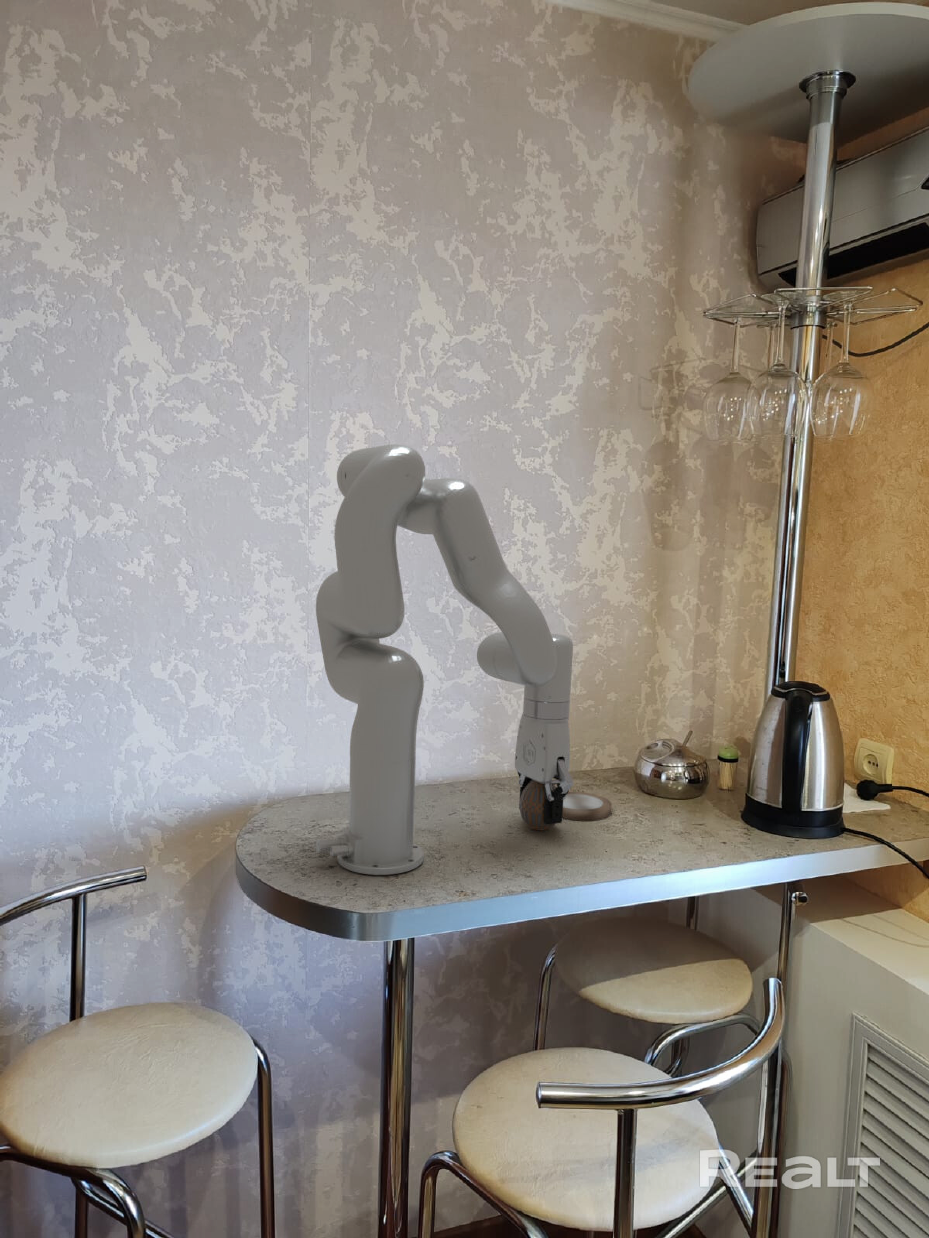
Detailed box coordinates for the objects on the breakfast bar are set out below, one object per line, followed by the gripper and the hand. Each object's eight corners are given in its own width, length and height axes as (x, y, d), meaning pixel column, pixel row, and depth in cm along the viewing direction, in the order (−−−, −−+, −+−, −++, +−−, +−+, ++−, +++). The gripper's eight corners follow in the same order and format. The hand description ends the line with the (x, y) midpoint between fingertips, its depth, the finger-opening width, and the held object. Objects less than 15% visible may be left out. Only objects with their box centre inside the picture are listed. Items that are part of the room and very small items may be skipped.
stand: (567, 824, 149) (568, 815, 149) (530, 804, 160) (530, 795, 160) (625, 815, 155) (625, 807, 155) (585, 796, 165) (585, 788, 165)
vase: (567, 825, 148) (570, 773, 147) (548, 836, 142) (551, 782, 141) (530, 817, 151) (533, 766, 151) (510, 826, 145) (513, 774, 145)
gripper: (499, 700, 151) (494, 803, 152) (556, 721, 136) (549, 835, 137) (537, 699, 154) (531, 799, 156) (596, 719, 139) (589, 830, 141)
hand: (540, 815), depth 146 cm, fingers closed on vase, 6 cm apart
